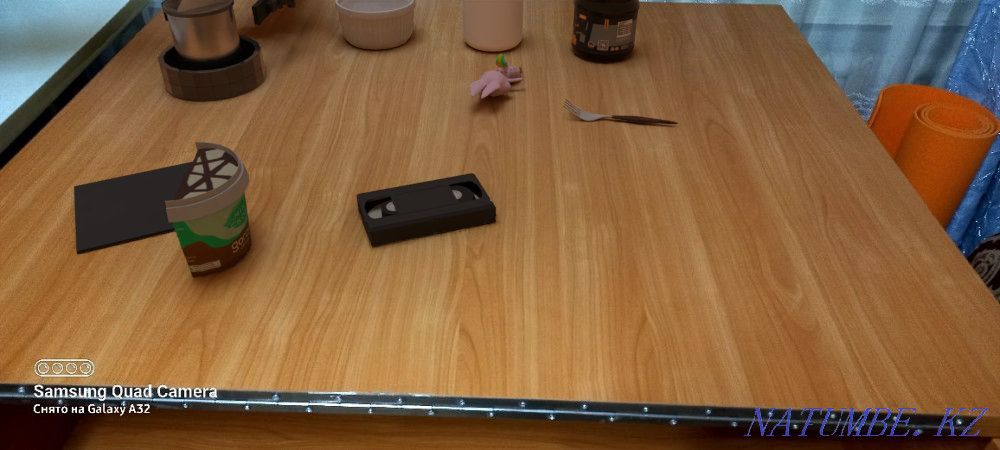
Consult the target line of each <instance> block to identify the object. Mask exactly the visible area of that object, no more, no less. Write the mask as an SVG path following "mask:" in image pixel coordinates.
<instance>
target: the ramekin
mask: <svg viewBox="0 0 1000 450" xmlns="http://www.w3.org/2000/svg"><path fill="white" fill-rule="evenodd" d="M334 3H335V10H336V11H337V13H338V18H339V23H340V28H341V31H342V35H343V37H344V39H345V40H346V41H347V42H348V44H350V45H352V46H353V47H356V48H360V49H363V50H374V51H375V50H376V51H377V50H388V49H393V48H396V47H400V46H402V45H404V44H405V43H407V41H409V39H410V38H411V36H412V34H413V31H414V17H415V8H416V5H417V4H416V0H335V1H334Z"/></svg>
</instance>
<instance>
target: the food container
mask: <svg viewBox="0 0 1000 450" xmlns="http://www.w3.org/2000/svg"><path fill="white" fill-rule="evenodd" d="M194 143H195V148H196V152H195V156H194V158H193V160H192V161H191V162H192V164H191V165H190V166H189V168H188V169H187V170H186V172H185V173H184V176H183V178H182V181H181V184H180V187H179V189H178V192H177V194H176V196H175V198H174V200H173V201H165V204H166V207H167V208H166V212H167V216H168V221H169V222H172V223H173V226H174V229H175V231H174V232H175V234H176V236H177V239H178V242H179V245H180V247H181V248H180V249H181V250H182V252H183V256H184V259H185V261H186V263H187V266H188V269H189V272H190V274H191V278H203V277H207V276H211V275H217V274H219V273H222V272H224V271H226V270H229V269H230V268H233V267H235V266H236V265H238V264H239V263H240V262H241V261H243V260H244V259H245V258H246V257H247V256H248V254H249V253H250V251H251V249H252V245H253V243H252V234H251V228H250V222H249V214H248V206H247V197H246V191H247V188H248V187H249V183H250V174H249V172H248V170H247V168H246V166H245V163H244V162H243V160H242V159H241V158H240V156H239V155H238V154H237V152H235V150H233V149H232V148H231V147H228V146H226V145H223V144H220V143H217V142H216V143H215V142H208V141H195V142H194Z"/></svg>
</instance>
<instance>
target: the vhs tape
mask: <svg viewBox="0 0 1000 450" xmlns="http://www.w3.org/2000/svg"><path fill="white" fill-rule="evenodd" d="M356 203H357V205H356V206H357V210H358V213H359V215H360V219H361V221H362V224H363V227H364V229H365V232H366V235H367V238H368V241H369V243H370V246H371V248H374V247H379V246H384V245H389V244H394V243H398V242H403V241H404V242H405V241H408V240H409V241H410V240H413V239H417V238H418V239H419V238H422V237H427V236H432V235H434V234H437V235H439V234H442V233H443V234H444V233H448V232H453V231H457V230H462V229H467V228H471V227H477V226H482V225H487V224H492V223H497V207H496V205H495V203H494V202H493V200H491V198H490V196H489V195H488V193H487V190H485V188H484V187H483V185H482V183H481V182H480V180H479V178H478V177H477V175H476V174H475V173H471V172H470V173H464V174H458V175H453V176H448V177H443V178H438V179H432V180H426V181H421V182H415V183H409V184H404V185H403V184H402V185H399V186H394V187H388V188H387V187H386V188H382V189H377V190H371V191H366V192H360V193H357V194H356Z"/></svg>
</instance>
